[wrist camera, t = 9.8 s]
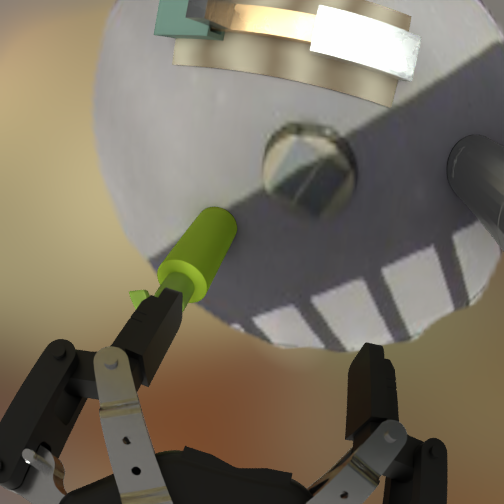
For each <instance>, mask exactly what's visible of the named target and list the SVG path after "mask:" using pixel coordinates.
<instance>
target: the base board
mask: <svg viewBox="0 0 504 504" xmlns="http://www.w3.org/2000/svg"><path fill="white" fill-rule="evenodd" d="M231 1H232V2H234V3H235V4H244V5H255V6H264V7H272V8H279V9H285V10H291V11H297V12H303V13H308V14H313V15H317V13H318V8H319V5H323V6H327V7H331V8H336V9H340V10H344V11H347V12H351V13H355V14H358V15H362V16H365V17H368V18H371V19H375V20H378V21H381V22H384V23H387V24H389V25H392V26H395V27H398V28H400V29H403V30H406V31H408V32H409V27H410V22H411V16H409V15H406V14H404V13H401V12H398V11H396V10H393V9H390V8H387V7H384V6H381V5H378V4H375V3H372V2H369V1H365V0H231ZM310 47H311V45H310V44H305V43H300V42H295V41H290V40H284V39H278V38H272V37H266V36H258V35H251V34H242V33H232V32H225V34H224V40H223V41H220V40H206V39H185V38H176V41H175V48H174V55H173V62H172V65H189V66H201V67H212V68H221V69H229V70H237V71H244V72H251V73H257V74H263V75H269V76H274V77H280V78H285V79H290V80H294V81H299V82H303V83H308V84H312V85H316V86H320V87H324V88H328V89H332V90H335V91H339V92H343V93H346V94H350V95H353V96H356V97H360V98H363V99H366V100H369V101H372V102H375V103H378V104H381V105H384V106H387V107H390V108H391V106H392V102H393V98H394V94H395V90H396V86H397V82H398V80H396V79H393V78H390V77H388V76H385V75H382V74H379V73H376V72H373V71H370V70H367V69H364V68H360V67H357V66H354V65H350V64H347V63H343V62H339V61H336V60H332V59H328V58H324V57H320V56H316V55H311V52H310Z"/></svg>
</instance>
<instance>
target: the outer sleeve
mask: <svg viewBox="0 0 504 504" xmlns="http://www.w3.org/2000/svg"><path fill="white" fill-rule="evenodd" d="M420 41H421V37H420V36H418V35H416V34H413V33H411V32H408V31H406V30H403V29H400V28H398V27H395V26H392V25H389V24H387V23H384V22H381V21H378V20H375V19H371V18H368V17H365V16H362V15H358V14H355V13H351V12H347V11H344V10H340V9H336V8H331V7H327V6H323V5H319V8H318V13H317V18H316V23H315V27H314V32H313V37H312V42H311V47H310V52H311V55H316V56H320V57H324V58H328V59H332V60H336V61H339V62H343V63H347V64H350V65H354V66H357V67H360V68H364V69H367V70H370V71H373V72H376V73H379V74H382V75H385V76H388V77H390V78H393V79H396V80H401V81H412V78H413V73H414V69H415V65H416V60H417V56H418V51H419V46H420Z"/></svg>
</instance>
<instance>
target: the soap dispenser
mask: <svg viewBox="0 0 504 504" xmlns="http://www.w3.org/2000/svg"><path fill="white" fill-rule="evenodd" d="M236 232H237V224H236V221H235V219H234V217H233V216H232V215H231V214H230V213H229V212H228V211H226V210H225V209H222V208H219V207H209V208H206V209H205V210H203V211H202V212H201V213H200V214H199V216H198V217H197V218H196V219H195V221H194V222H193V223H192V224H191V226H190V227H189V228H188V230H187V231H186V232H185V233H184V235H183V236H182V237H181V239H180V240H179V241H178V242H177V244H176V245H175V246H174V248H173V249H172V250H171V252H170V253H169V254H168V256H167V257H166V258H165V260H164V261H163V262H162V264H161V265H160V266H159V268H158V272H157V277H158V281H159V283H160V287H159V288H158V290H157V291H156V293H155V295H154V296H155V297H159V295H160V294H161V292H162V291H163V289H164V288H166V287H167V288H170V289H173V290H176V291H179V292H182V294H183V304H182V312H183V311H184V309H185V308H186V306H187V304H188V303H194V302H198V301H200V300H201V299H203V298H204V296H205V295H206V293H207V291H208V289H209V287H210V285H211V283H212V281H213V279H214V277H215V275H216V273H217V271H218V269H219V267H220V265H221V263H222V261H223V259H224V257H225V255H226V253H227V251H228V249H229V247H230V245H231V243H232V241H233V239H234V237H235V235H236ZM129 294H130V297H131V300H132V302H133V304H134V307H135V309H137V307H138V306H139V304H140V303H141V301H143V300H144V299H146V298H148V297H149V296H150V295H149V293H148V291H146V290H137V291H130V292H129Z"/></svg>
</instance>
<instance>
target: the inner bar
mask: <svg viewBox="0 0 504 504" xmlns="http://www.w3.org/2000/svg"><path fill="white" fill-rule="evenodd" d="M185 18H188V19H191V20H194V21H197V22H200V23H202V24H205V25H208V26H210V27H211V28H210V31H220V32H232V33H242V34H251V35H258V36H266V37H272V38H278V39H284V40H290V41H295V42H300V43H305V44H310V45H311V42H312V37H313V32H314V27H315V23H316V18H317V15H313V14H308V13H303V12H297V11H291V10H285V9H279V8H272V7H264V6H255V5H244V4H235V3H234V2H232V1H231V0H189V1H188V6H187V12H186V17H185Z"/></svg>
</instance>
